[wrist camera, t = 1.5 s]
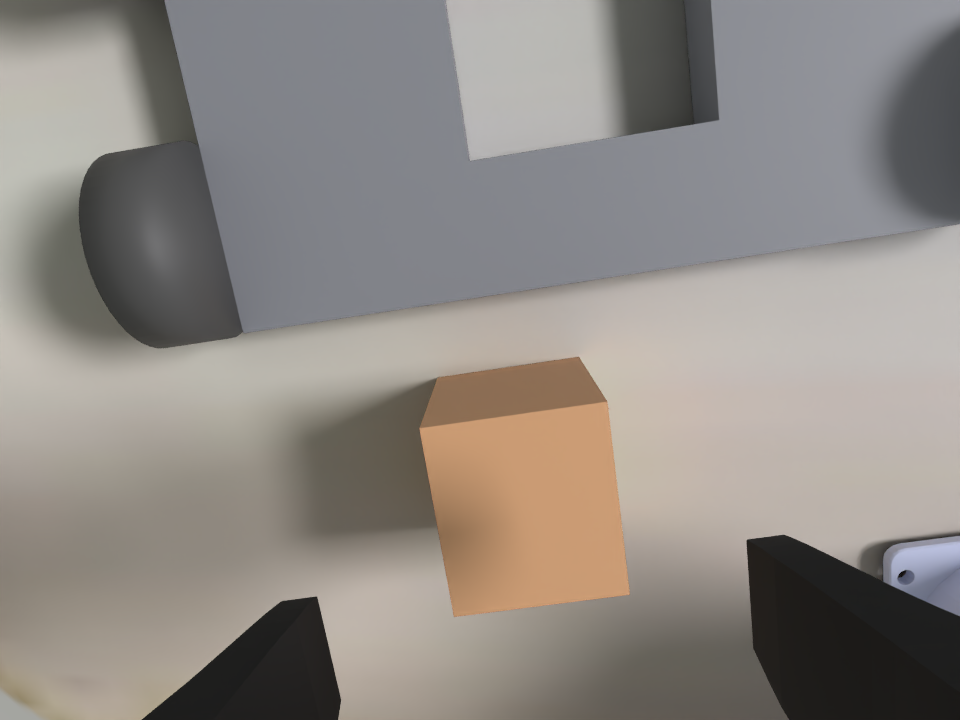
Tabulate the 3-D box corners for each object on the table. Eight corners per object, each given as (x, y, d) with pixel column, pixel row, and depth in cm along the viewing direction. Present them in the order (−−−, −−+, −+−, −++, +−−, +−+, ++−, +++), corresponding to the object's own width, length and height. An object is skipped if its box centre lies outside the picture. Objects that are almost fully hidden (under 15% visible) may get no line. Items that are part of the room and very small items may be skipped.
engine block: (597, 505, 20) (630, 594, 16) (463, 523, 21) (454, 617, 16) (578, 356, 19) (606, 401, 15) (437, 377, 20) (419, 428, 15)
